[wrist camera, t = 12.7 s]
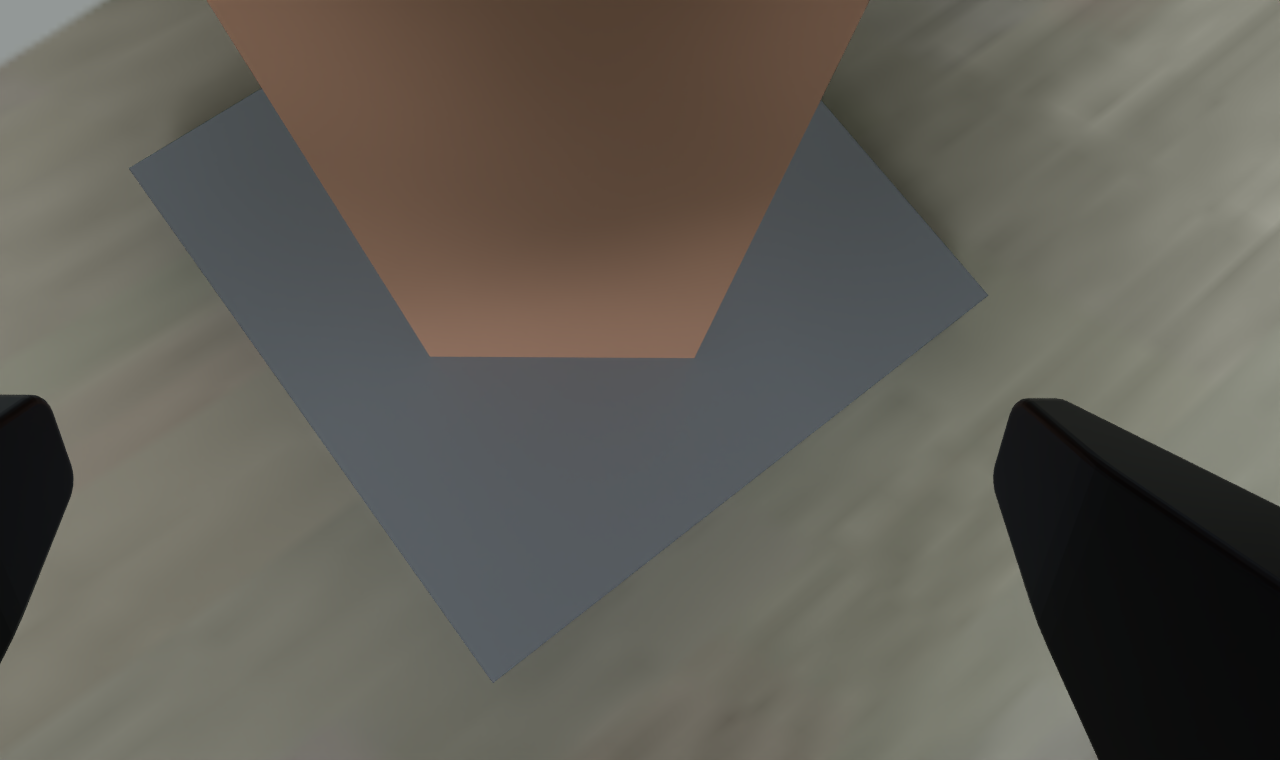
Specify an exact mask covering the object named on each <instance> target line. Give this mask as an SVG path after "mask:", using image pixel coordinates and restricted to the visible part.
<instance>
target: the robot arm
mask: <svg viewBox="0 0 1280 760" xmlns="http://www.w3.org/2000/svg"><path fill="white" fill-rule="evenodd" d="M993 483H994V490H995V494H996V497H997V500H998V503H999V507H1000V510H1001V513H1002V516H1003V519H1004V522H1005V525H1006V528H1007V532H1008V535H1009V538H1010V541H1011V544H1012V547H1013V550H1014V554H1015V557H1016V560H1017V563H1018V566H1019V569H1020V572H1021V575H1022V579H1023V582H1024V585H1025V588H1026V591H1027V594H1028V597H1029V600H1030V603H1031V606H1032V609H1033V612H1034V615H1035V617H1036V620H1037V623H1038V626H1039V628H1040V630H1041V633H1042V635H1043V637H1044V640H1045V642H1046V645H1047V647H1048V649H1049V651H1050V654H1051V656H1052V658H1053V660H1054V662H1055V665H1056V667H1057V669H1058V671H1059V673H1060V676H1061V678H1062V680H1063V682H1064V685H1065V687H1066V689H1067V691H1068V693H1069V696H1070V698H1071V700H1072V702H1073V704H1074V707H1075V709H1076V711H1077V713H1078V715H1079V718H1080V720H1081V722H1082V724H1083V727H1084V729H1085V731H1086V733H1087V735H1088V738H1089V740H1090V742H1091V744H1092V746H1093V749H1094V751H1095V753H1096V755H1097V758H1098V760H1280V507H1279V506H1277V505H1275V504H1273V503H1271V502H1269V501H1267V500H1265V499H1263V498H1261V497H1259V496H1257V495H1255V494H1253V493H1251V492H1249V491H1247V490H1245V489H1243V488H1241V487H1239V486H1237V485H1235V484H1233V483H1231V482H1229V481H1227V480H1225V479H1223V478H1221V477H1219V476H1217V475H1215V474H1213V473H1211V472H1209V471H1207V470H1205V469H1203V468H1201V467H1199V466H1197V465H1195V464H1193V463H1191V462H1189V461H1187V460H1185V459H1183V458H1181V457H1179V456H1177V455H1175V454H1173V453H1171V452H1169V451H1166V450H1164V449H1162V448H1160V447H1158V446H1156V445H1154V444H1152V443H1150V442H1148V441H1146V440H1144V439H1142V438H1140V437H1138V436H1136V435H1134V434H1132V433H1130V432H1128V431H1126V430H1124V429H1122V428H1120V427H1118V426H1116V425H1114V424H1112V423H1110V422H1108V421H1106V420H1104V419H1102V418H1100V417H1098V416H1096V415H1094V414H1092V413H1090V412H1088V411H1086V410H1084V409H1082V408H1080V407H1078V406H1076V405H1074V404H1072V403H1070V402H1068V401H1065V400H1063V399H1057V398H1027V399H1022V400H1020V401H1019V402H1017V403H1016V404H1015V405H1014V407H1013V408H1012V410H1011V413H1010V415H1009V419H1008V422H1007V426H1006V429H1005V432H1004V436H1003V439H1002V443H1001V446H1000V449H999V453H998V456H997V460H996V463H995V467H994V474H993ZM72 489H73V470H72V466H71V463H70V460H69V457H68V454H67V452H66V449H65V446H64V443H63V440H62V437H61V434H60V431H59V429H58V426H57V423H56V420H55V417H54V414H53V412H52V410H51V407H50V406H49V404H48V403H47V402H46V401H45V400H44V399H42V398H40V397H39V396H36V395H0V663H1V661H2V659H3V657H4V655H5V653H6V651H7V649H8V647H9V645H10V643H11V641H12V639H13V637H14V635H15V633H16V630H17V628H18V626H19V624H20V621H21V619H22V617H23V615H24V612H25V610H26V607H27V605H28V602H29V600H30V597H31V595H32V592H33V590H34V587H35V585H36V582H37V580H38V577H39V575H40V572H41V570H42V567H43V565H44V562H45V560H46V557H47V555H48V552H49V550H50V547H51V545H52V542H53V540H54V537H55V535H56V532H57V530H58V527H59V525H60V522H61V520H62V517H63V515H64V512H65V510H66V507H67V505H68V502H69V500H70V497H71V494H72Z"/></svg>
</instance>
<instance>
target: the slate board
mask: <svg viewBox="0 0 1280 760" xmlns="http://www.w3.org/2000/svg"><path fill="white" fill-rule="evenodd" d="M129 169H130V171H131V172H132V174H133V175H134V177H135V178H136V179H137V181H138V182H139V184H140V185H141V186H142V188H143V189H144V191H145V192H146V193H147V195H148V196H149V198H150V199H151V201H152V202H153V203H154V205H155V206H156V208H157V209H158V210H159V212H160V213H161V215H162V216H163V217H164V219H165V220H166V222H167V223H168V225H169V226H170V227H171V229H172V230H173V232H174V233H175V234H176V236H177V237H178V239H179V240H180V242H181V243H182V244H183V246H184V247H185V249H186V250H187V251H188V253H189V254H190V256H191V257H192V258H193V260H194V261H195V263H196V264H197V266H198V267H199V268H200V270H201V271H202V273H203V274H204V275H205V277H206V278H207V280H208V281H209V282H210V284H211V285H212V287H213V288H214V290H215V291H216V292H217V294H218V295H219V297H220V298H221V299H222V301H223V302H224V304H225V305H226V307H227V308H228V309H229V311H230V312H231V314H232V315H233V316H234V318H235V319H236V321H237V322H238V323H239V325H240V326H241V328H242V329H243V331H244V332H245V333H246V335H247V336H248V338H249V339H250V340H251V342H252V343H253V345H254V346H255V348H256V349H257V350H258V352H259V353H260V355H261V356H262V357H263V359H264V360H265V362H266V363H267V364H268V366H269V367H270V369H271V370H272V372H273V373H274V374H275V376H276V377H277V379H278V380H279V381H280V383H281V384H282V386H283V387H284V388H285V390H286V391H287V393H288V394H289V396H290V397H291V398H292V400H293V401H294V403H295V404H296V405H297V407H298V408H299V410H300V411H301V413H302V414H303V415H304V417H305V418H306V420H307V421H308V422H309V424H310V425H311V427H312V428H313V429H314V431H315V432H316V434H317V435H318V437H319V438H320V439H321V441H322V442H323V444H324V445H325V446H326V448H327V449H328V451H329V452H330V453H331V455H332V456H333V458H334V459H335V461H336V462H337V463H338V465H339V466H340V468H341V469H342V470H343V472H344V473H345V475H346V476H347V478H348V479H349V480H350V482H351V483H352V485H353V486H354V487H355V489H356V490H357V492H358V493H359V494H360V496H361V497H362V499H363V500H364V502H365V503H366V504H367V506H368V507H369V509H370V510H371V511H372V513H373V514H374V516H375V517H376V518H377V520H378V521H379V523H380V524H381V526H382V527H383V528H384V530H385V531H386V533H387V534H388V535H389V537H390V538H391V540H392V541H393V543H394V544H395V545H396V547H397V548H398V550H399V551H400V552H401V554H402V555H403V557H404V558H405V559H406V561H407V562H408V564H409V565H410V567H411V568H412V569H413V571H414V572H415V574H416V575H417V576H418V578H419V579H420V581H421V582H422V583H423V585H424V586H425V588H426V589H427V591H428V592H429V593H430V595H431V596H432V598H433V599H434V600H435V602H436V603H437V605H438V606H439V608H440V609H441V610H442V612H443V613H444V615H445V616H446V617H447V619H448V620H449V622H450V623H451V624H452V626H453V627H454V629H455V630H456V632H457V633H458V634H459V636H460V637H461V639H462V640H463V641H464V643H465V644H466V646H467V647H468V648H469V650H470V651H471V653H472V654H473V656H474V657H475V658H476V660H477V661H478V663H479V664H480V665H481V667H482V668H483V670H484V671H485V673H486V674H487V675H488V677H489V678H490V680H491V681H492V682H493V683H494V682H495V681H496V680H497V679H499V678H500V677H501V676H503V675H504V674H505V673H506V672H508V671H509V670H510V669H512V668H513V667H514V666H515V665H517V664H518V663H519V662H520V661H522V660H523V659H524V658H526V657H527V656H528V655H529V654H531V653H532V652H533V651H535V650H536V649H537V648H538V647H540V646H541V645H542V644H543V643H545V642H546V641H547V640H549V639H550V638H551V637H552V636H554V635H555V634H556V633H558V632H559V631H560V630H561V629H563V628H564V627H565V626H566V625H568V624H569V623H570V622H572V621H573V620H574V619H575V618H577V617H578V616H579V615H581V614H582V613H583V612H584V611H586V610H587V609H588V608H589V607H591V606H592V605H593V604H595V603H596V602H597V601H598V600H600V599H601V598H602V597H604V596H605V595H606V594H607V593H609V592H610V591H611V590H612V589H614V588H615V587H616V586H618V585H619V584H620V583H621V582H623V581H624V580H625V579H627V578H628V577H629V576H630V575H632V574H633V573H634V572H635V571H637V570H638V569H639V568H641V567H642V566H643V565H644V564H646V563H647V562H648V561H650V560H651V559H652V558H653V557H655V556H656V555H657V554H658V553H660V552H661V551H662V550H664V549H665V548H666V547H667V546H669V545H670V544H671V543H673V542H674V541H675V540H676V539H678V538H679V537H680V536H681V535H683V534H684V533H685V532H687V531H688V530H689V529H690V528H692V527H693V526H694V525H696V524H697V523H698V522H699V521H701V520H702V519H703V518H704V517H706V516H707V515H708V514H710V513H711V512H712V511H713V510H715V509H716V508H717V507H719V506H720V505H721V504H722V503H724V502H725V501H726V500H727V499H729V498H730V497H731V496H733V495H734V494H735V493H736V492H738V491H739V490H740V489H742V488H743V487H744V486H745V485H747V484H748V483H749V482H751V481H752V480H753V479H754V478H756V477H757V476H758V475H759V474H761V473H762V472H763V471H765V470H766V469H767V468H768V467H770V466H771V465H772V464H774V463H775V462H776V461H777V460H779V459H780V458H781V457H782V456H784V455H785V454H786V453H788V452H789V451H790V450H791V449H793V448H794V447H795V446H797V445H798V444H799V443H800V442H802V441H803V440H804V439H805V438H807V437H808V436H809V435H811V434H812V433H813V432H814V431H816V430H817V429H818V428H820V427H821V426H822V425H823V424H825V423H826V422H827V421H828V420H830V419H831V418H832V417H834V416H835V415H836V414H837V413H839V412H840V411H841V410H843V409H844V408H845V407H846V406H848V405H849V404H850V403H851V402H853V401H854V400H855V399H857V398H858V397H859V396H860V395H862V394H863V393H864V392H866V391H867V390H868V389H869V388H871V387H872V386H873V385H874V384H876V383H877V382H878V381H880V380H881V379H882V378H883V377H885V376H886V375H887V374H889V373H890V372H891V371H892V370H894V369H895V368H896V367H897V366H899V365H900V364H901V363H903V362H904V361H905V360H906V359H908V358H909V357H910V356H912V355H913V354H914V353H915V352H917V351H918V350H919V349H920V348H922V347H923V346H924V345H926V344H927V343H928V342H929V341H931V340H932V339H933V338H935V337H936V336H937V335H938V334H940V333H941V332H942V331H943V330H945V329H946V328H947V327H949V326H950V325H951V324H952V323H954V322H955V321H956V320H958V319H959V318H960V317H961V316H963V315H964V314H965V313H966V312H968V311H969V310H970V309H972V308H973V307H974V306H975V305H977V304H978V303H979V302H981V301H982V300H983V299H984V298H986V297H987V296H988V294H987V293H986V292H985V291H984V290H983V289H982V287H981V286H980V285H979V284H978V283H977V282H976V280H975V279H974V278H973V277H972V276H971V275H970V273H969V272H968V271H967V270H966V269H965V268H964V266H963V265H962V264H961V263H960V262H959V261H958V259H957V258H956V257H955V256H954V255H953V254H952V252H951V251H950V250H949V249H948V248H947V247H946V245H945V244H944V243H943V242H942V241H941V240H940V238H939V237H938V236H937V235H936V234H935V233H934V231H933V230H932V229H931V228H930V227H929V226H928V224H927V223H926V222H925V221H924V220H923V219H922V217H921V216H920V215H919V214H918V213H917V212H916V210H915V209H914V208H913V207H912V206H911V205H910V203H909V202H908V201H907V200H906V199H905V198H904V196H903V195H902V194H901V193H900V192H899V191H898V189H897V188H896V187H895V186H894V185H893V184H892V182H891V181H890V180H889V179H888V178H887V177H886V175H885V174H884V173H883V172H882V171H881V170H880V168H879V167H878V166H877V165H876V164H875V163H874V161H873V160H872V159H871V158H870V157H869V156H868V154H867V153H866V152H865V151H864V150H863V149H862V147H861V146H860V145H859V144H858V143H857V142H856V140H855V139H854V138H853V137H852V136H851V135H850V133H849V132H848V131H847V130H846V129H845V128H844V126H843V125H842V124H841V123H840V122H839V121H838V119H837V118H836V117H835V116H834V115H833V114H832V112H831V111H830V110H829V109H828V108H827V107H826V105H825V104H824V103H823V102H822V101H820V103H819V105H818V107H817V109H816V111H815V113H814V115H813V117H812V119H811V121H810V123H809V125H808V127H807V129H806V131H805V133H804V135H803V137H802V139H801V141H800V143H799V145H798V147H797V149H796V152H795V154H794V156H793V158H792V160H791V162H790V164H789V166H788V168H787V170H786V172H785V174H784V176H783V178H782V180H781V182H780V184H779V186H778V188H777V190H776V192H775V194H774V196H773V198H772V200H771V203H770V205H769V207H768V209H767V211H766V213H765V215H764V217H763V219H762V221H761V223H760V225H759V227H758V229H757V231H756V233H755V235H754V237H753V239H752V241H751V243H750V245H749V247H748V249H747V251H746V254H745V256H744V258H743V260H742V262H741V264H740V266H739V268H738V270H737V272H736V274H735V276H734V278H733V280H732V282H731V284H730V286H729V288H728V290H727V292H726V294H725V296H724V298H723V300H722V302H721V305H720V307H719V309H718V311H717V313H716V315H715V317H714V319H713V321H712V323H711V325H710V327H709V329H708V331H707V333H706V335H705V337H704V339H703V341H702V343H701V345H700V347H699V349H698V351H697V353H696V356H695V358H584V357H430V356H429V354H428V353H427V351H426V349H425V348H424V346H423V345H422V343H421V342H420V340H419V338H418V337H417V335H416V334H415V332H414V330H413V329H412V327H411V326H410V324H409V322H408V321H407V319H406V318H405V316H404V314H403V313H402V311H401V310H400V308H399V306H398V305H397V303H396V302H395V300H394V298H393V297H392V295H391V294H390V292H389V290H388V289H387V287H386V286H385V284H384V282H383V281H382V279H381V278H380V276H379V274H378V273H377V271H376V270H375V268H374V266H373V265H372V263H371V262H370V260H369V259H368V257H367V255H366V254H365V252H364V251H363V249H362V247H361V246H360V244H359V243H358V241H357V239H356V238H355V236H354V235H353V233H352V231H351V230H350V228H349V227H348V225H347V223H346V222H345V220H344V219H343V217H342V215H341V214H340V212H339V211H338V209H337V207H336V206H335V204H334V203H333V201H332V199H331V198H330V196H329V195H328V193H327V191H326V190H325V188H324V187H323V185H322V183H321V182H320V180H319V179H318V177H317V176H316V174H315V172H314V171H313V169H312V168H311V166H310V164H309V163H308V161H307V160H306V158H305V156H304V155H303V153H302V152H301V150H300V148H299V147H298V145H297V144H296V142H295V140H294V139H293V137H292V136H291V134H290V132H289V131H288V129H287V128H286V126H285V124H284V123H283V121H282V120H281V118H280V116H279V115H278V113H277V112H276V110H275V108H274V107H273V105H272V104H271V102H270V100H269V99H268V97H267V96H266V94H265V92H264V91H263V89H262V88H261V89H259V90H258V91H256V92H254V93H253V94H251V95H249V96H248V97H246V98H244V99H243V100H241V101H239V102H238V103H236V104H234V105H233V106H231V107H230V108H228V109H226V110H225V111H223V112H221V113H220V114H218V115H216V116H215V117H213V118H211V119H210V120H208V121H206V122H205V123H203V124H201V125H200V126H198V127H196V128H195V129H193V130H191V131H190V132H188V133H186V134H185V135H183V136H181V137H180V138H178V139H177V140H175V141H173V142H172V143H170V144H168V145H167V146H165V147H163V148H162V149H160V150H158V151H157V152H155V153H153V154H152V155H150V156H148V157H147V158H145V159H143V160H142V161H140V162H138V163H137V164H135V165H133V166H132V167H130V168H129Z"/></svg>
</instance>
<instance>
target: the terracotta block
mask: <svg viewBox="0 0 1280 760" xmlns="http://www.w3.org/2000/svg"><path fill="white" fill-rule="evenodd" d="M869 1H870V0H207V2H208V3H209V5H210V6H211V8H212V9H213V11H214V13H215V14H216V16H217V17H218V19H219V21H220V22H221V24H222V25H223V27H224V29H225V30H226V32H227V33H228V35H229V37H230V38H231V40H232V41H233V43H234V45H235V46H236V48H237V49H238V51H239V53H240V54H241V56H242V57H243V59H244V61H245V62H246V64H247V65H248V67H249V69H250V70H251V72H252V73H253V75H254V77H255V78H256V80H257V81H258V83H259V85H260V86H261V88H262V89H263V91H264V92H265V94H266V96H267V97H268V99H269V100H270V102H271V104H272V105H273V107H274V108H275V110H276V112H277V113H278V115H279V116H280V118H281V120H282V121H283V123H284V124H285V126H286V128H287V129H288V131H289V132H290V134H291V136H292V137H293V139H294V140H295V142H296V144H297V145H298V147H299V148H300V150H301V152H302V153H303V155H304V156H305V158H306V160H307V161H308V163H309V164H310V166H311V168H312V169H313V171H314V172H315V174H316V176H317V177H318V179H319V180H320V182H321V183H322V185H323V187H324V188H325V190H326V191H327V193H328V195H329V196H330V198H331V199H332V201H333V203H334V204H335V206H336V207H337V209H338V211H339V212H340V214H341V215H342V217H343V219H344V220H345V222H346V223H347V225H348V227H349V228H350V230H351V231H352V233H353V235H354V236H355V238H356V239H357V241H358V243H359V244H360V246H361V247H362V249H363V251H364V252H365V254H366V255H367V257H368V259H369V260H370V262H371V263H372V265H373V266H374V268H375V270H376V271H377V273H378V274H379V276H380V278H381V279H382V281H383V282H384V284H385V286H386V287H387V289H388V290H389V292H390V294H391V295H392V297H393V298H394V300H395V302H396V303H397V305H398V306H399V308H400V310H401V311H402V313H403V314H404V316H405V318H406V319H407V321H408V322H409V324H410V326H411V327H412V329H413V330H414V332H415V334H416V335H417V337H418V338H419V340H420V342H421V343H422V345H423V346H424V348H425V349H426V351H427V353H428V354H429V356H430V357H584V358H695V356H696V353H697V351H698V349H699V347H700V345H701V343H702V341H703V339H704V337H705V335H706V333H707V331H708V329H709V327H710V325H711V323H712V321H713V319H714V317H715V315H716V313H717V311H718V309H719V307H720V305H721V302H722V300H723V298H724V296H725V294H726V292H727V290H728V288H729V286H730V284H731V282H732V280H733V278H734V276H735V274H736V272H737V270H738V268H739V266H740V264H741V262H742V260H743V258H744V256H745V254H746V251H747V249H748V247H749V245H750V243H751V241H752V239H753V237H754V235H755V233H756V231H757V229H758V227H759V225H760V223H761V221H762V219H763V217H764V215H765V213H766V211H767V209H768V207H769V205H770V203H771V200H772V198H773V196H774V194H775V192H776V190H777V188H778V186H779V184H780V182H781V180H782V178H783V176H784V174H785V172H786V170H787V168H788V166H789V164H790V162H791V160H792V158H793V156H794V154H795V152H796V149H797V147H798V145H799V143H800V141H801V139H802V137H803V135H804V133H805V131H806V129H807V127H808V125H809V123H810V121H811V119H812V117H813V115H814V113H815V111H816V109H817V107H818V105H819V103H820V101H821V98H822V96H823V94H824V92H825V90H826V88H827V86H828V84H829V82H830V80H831V78H832V76H833V74H834V72H835V70H836V68H837V66H838V64H839V62H840V60H841V58H842V56H843V54H844V52H845V50H846V47H847V45H848V43H849V41H850V39H851V37H852V35H853V33H854V31H855V29H856V27H857V25H858V23H859V21H860V19H861V17H862V15H863V13H864V11H865V9H866V7H867V5H868V3H869Z"/></svg>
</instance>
